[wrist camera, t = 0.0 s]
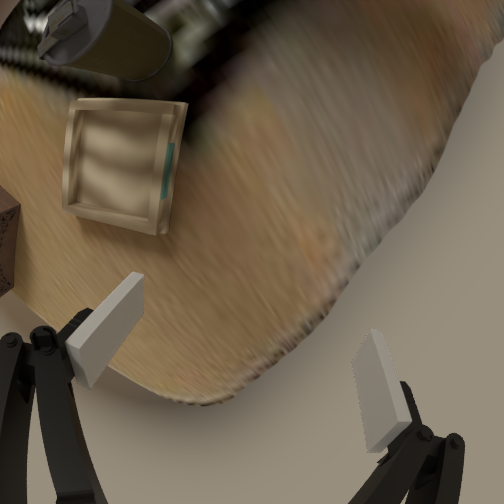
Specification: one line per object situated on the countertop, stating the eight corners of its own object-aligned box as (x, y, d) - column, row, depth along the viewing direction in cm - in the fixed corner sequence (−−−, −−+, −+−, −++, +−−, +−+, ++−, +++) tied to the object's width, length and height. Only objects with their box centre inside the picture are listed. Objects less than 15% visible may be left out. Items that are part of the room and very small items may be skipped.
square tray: (83, 98, 37) (68, 98, 34) (188, 103, 37) (178, 101, 33) (73, 208, 45) (60, 214, 42) (168, 231, 45) (158, 239, 41)
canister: (162, 13, 31) (91, -39, 13) (180, 62, 34) (105, 20, 16) (106, 46, 33) (21, 21, 15) (121, 94, 37) (28, 85, 18)
